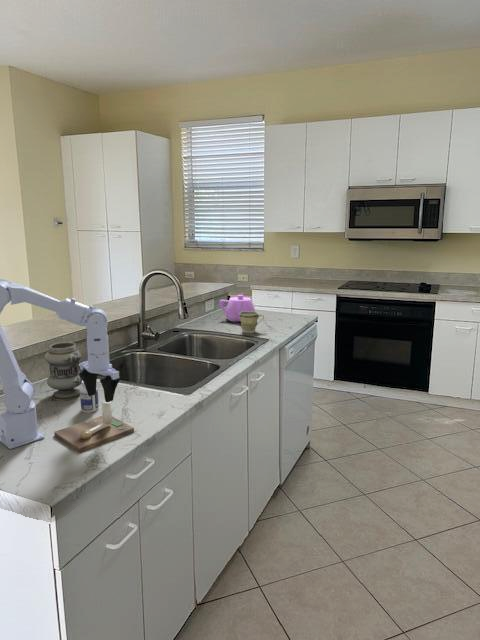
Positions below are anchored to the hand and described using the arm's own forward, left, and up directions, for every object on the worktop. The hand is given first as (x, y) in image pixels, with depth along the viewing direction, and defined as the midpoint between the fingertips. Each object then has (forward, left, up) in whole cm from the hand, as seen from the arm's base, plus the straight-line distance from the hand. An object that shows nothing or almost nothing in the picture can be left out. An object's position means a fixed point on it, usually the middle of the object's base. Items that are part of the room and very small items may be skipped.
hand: (100, 398), depth 137 cm
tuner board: (-3, 0, -10) cm, 10 cm away
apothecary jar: (+6, +33, -10) cm, 35 cm away
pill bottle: (+5, +16, -10) cm, 20 cm away
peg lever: (-3, -2, -8) cm, 9 cm away
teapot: (+134, +71, -10) cm, 152 cm away
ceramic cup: (+118, +48, -10) cm, 128 cm away
